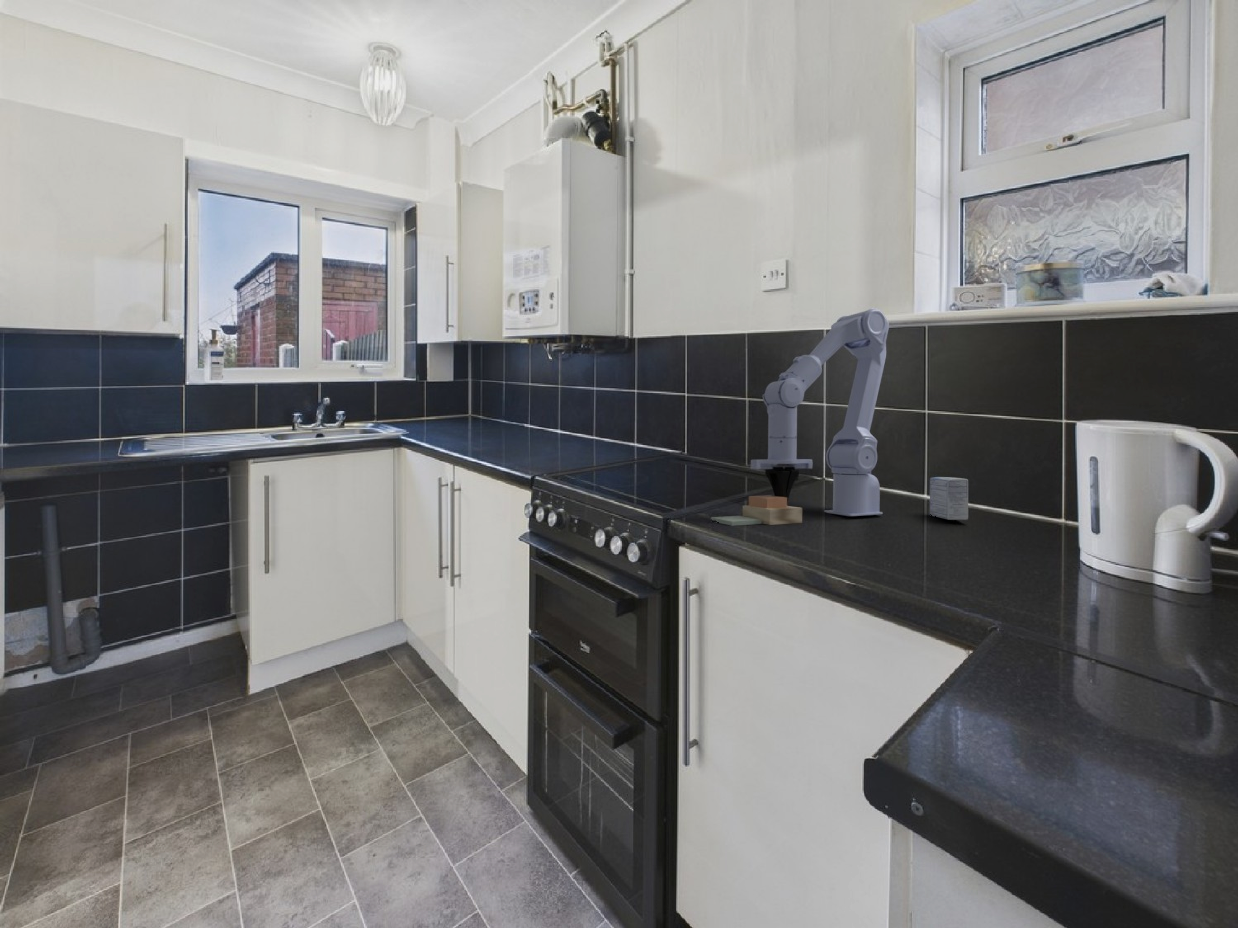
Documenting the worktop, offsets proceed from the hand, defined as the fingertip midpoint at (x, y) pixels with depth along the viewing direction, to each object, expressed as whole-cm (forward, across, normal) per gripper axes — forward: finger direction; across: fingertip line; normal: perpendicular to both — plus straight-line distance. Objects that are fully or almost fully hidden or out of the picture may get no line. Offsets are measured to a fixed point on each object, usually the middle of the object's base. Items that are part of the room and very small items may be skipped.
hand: (781, 503), depth 126 cm
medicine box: (+4, -36, +11) cm, 38 cm away
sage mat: (+3, +11, -1) cm, 11 cm away
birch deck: (+3, +3, 0) cm, 4 cm away
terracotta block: (0, +4, 0) cm, 4 cm away
